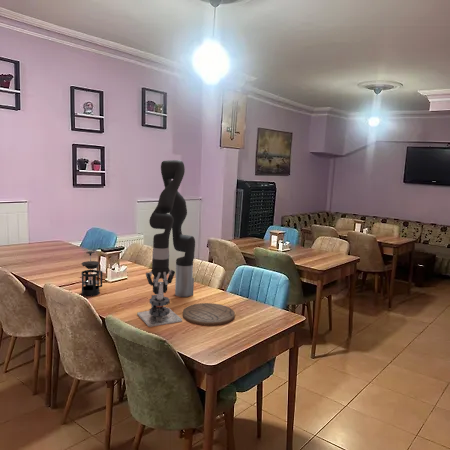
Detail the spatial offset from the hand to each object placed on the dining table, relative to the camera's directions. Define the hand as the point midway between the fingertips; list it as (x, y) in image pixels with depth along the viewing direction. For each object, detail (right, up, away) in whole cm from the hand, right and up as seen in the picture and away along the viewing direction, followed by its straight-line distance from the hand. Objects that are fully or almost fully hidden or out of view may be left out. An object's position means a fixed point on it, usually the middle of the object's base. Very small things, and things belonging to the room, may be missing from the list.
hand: (159, 292), depth 189 cm
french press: (-42, -6, +31) cm, 52 cm away
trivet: (+22, -13, +8) cm, 27 cm away
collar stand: (-1, -12, +2) cm, 12 cm away
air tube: (0, -11, +2) cm, 11 cm away
